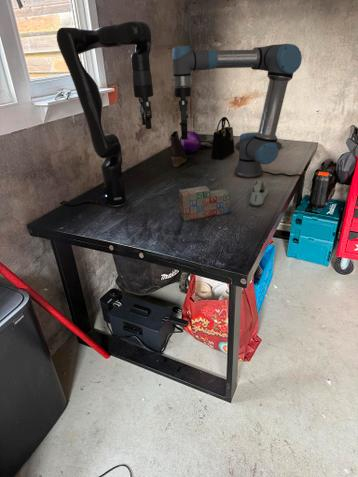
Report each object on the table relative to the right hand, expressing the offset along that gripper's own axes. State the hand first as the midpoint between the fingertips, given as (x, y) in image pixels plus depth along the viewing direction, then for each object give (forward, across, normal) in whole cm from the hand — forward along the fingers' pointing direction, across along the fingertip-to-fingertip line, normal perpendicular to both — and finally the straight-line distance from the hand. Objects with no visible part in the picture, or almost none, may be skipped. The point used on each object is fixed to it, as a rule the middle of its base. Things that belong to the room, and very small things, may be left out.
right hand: (184, 136), depth 155 cm
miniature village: (+29, -84, +51) cm, 102 cm away
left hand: (-9, +19, -15) cm, 26 cm away
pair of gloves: (+29, -97, +18) cm, 103 cm away
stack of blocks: (+29, +25, +8) cm, 39 cm away
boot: (+29, -53, -5) cm, 61 cm away
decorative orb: (+29, -74, +3) cm, 80 cm away
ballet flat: (+29, +9, +35) cm, 46 cm away
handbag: (+29, -64, +25) cm, 75 cm away
